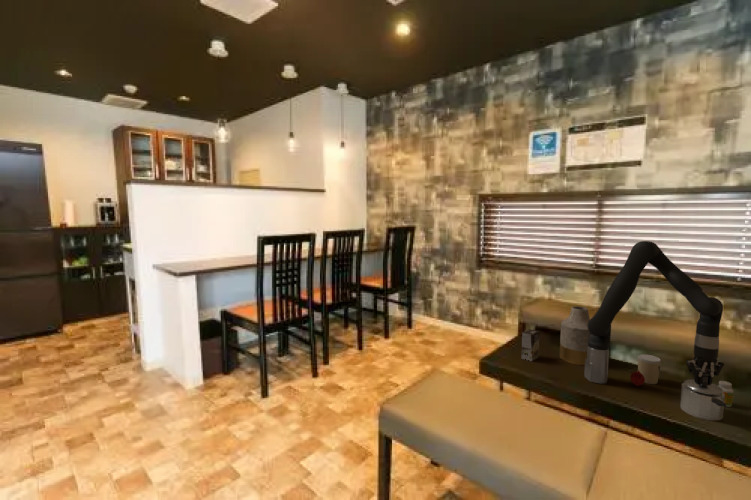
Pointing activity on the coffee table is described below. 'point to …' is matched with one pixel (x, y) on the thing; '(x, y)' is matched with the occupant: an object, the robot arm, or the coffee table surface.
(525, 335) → the coffee box
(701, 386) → the lid
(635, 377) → the onion
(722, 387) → the supplement bottle
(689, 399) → the pot
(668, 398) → the coffee table surface
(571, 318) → the vase
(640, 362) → the coffee cup
